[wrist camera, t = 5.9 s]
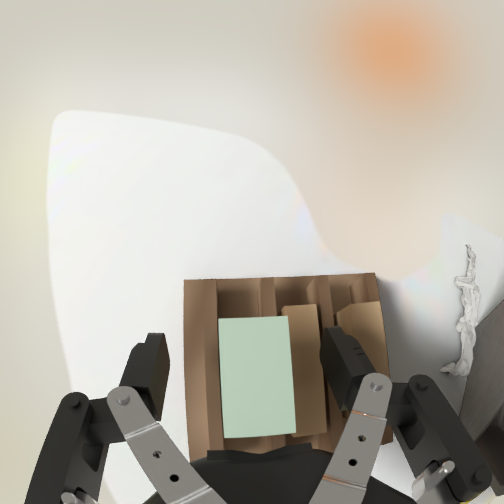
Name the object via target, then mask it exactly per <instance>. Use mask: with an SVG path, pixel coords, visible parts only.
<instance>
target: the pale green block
mask: <svg viewBox="0 0 504 504" xmlns="http://www.w3.org/2000/svg"><path fill="white" fill-rule="evenodd" d="M218 321H219V350H220V374H221V394H222V411H223V427H224V438H240V437H257V436H270V435H280V434H289V433H296V422H295V406H294V390H293V376H292V362H291V349H290V337H289V325H288V316H274V317H253V318H223V319H218Z"/></svg>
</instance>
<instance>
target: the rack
mask: <svg viewBox="0 0 504 504" xmlns="http://www.w3.org/2000/svg"><path fill="white" fill-rule="evenodd" d="M376 301H380V297H379V292H378V286H377V281H376V276H375V273H363V274H344V275H320V276H302V277H276V278H274V277H270V278H245V279H203V280H184V377H185V400H186V418H187V432H188V445H189V457H190V462H192V461H194V460H197V459H200V458H203V457H207V450H237V451H243V452H250V453H257V454H262V453H265V452H269V451H272V450H275V449H278V448H281V447H284V446H288V445H296V444H303V443H310V442H311V444H312V448H313V449H320V450H325V451H328V452H331V453H333V452H334V450H335V448H336V445H337V443H338V441H339V439H340V436H341V434H342V432H343V429H344V427H345V424H346V422H347V418H344V417H342V411H340V410H339V407H338V405H337V402H336V400H335V397H334V395H333V392H332V390H331V387H330V385H329V382H328V380H327V377H326V375H325V373H324V370H323V378H324V392H325V407H326V425H327V432H325V433H320V434H314V435H307V436H300V437H293V436H292V435H290V434H280V435H270V436H257V437H240V438H224V427H223V411H222V394H221V374H220V350H219V321H218V319H223V318H253V317H274V316H277V315H278V314H279V312H280V311H281V310H282V308H283V307H284V306H294V305H310V304H316V307H317V315H318V324H319V334H320V344H321V341H322V335H323V330H324V328H325V327H333V326H334V318H333V315H334V314H336V313H337V312H339V311H341V310H342V309H344V308H345V307H347V306H348V305H350V304H356V303H366V302H376ZM380 305H381V303H380ZM381 312H382V309H381ZM382 318H383V316H382ZM383 325H384V323H383ZM384 332H385V330H384ZM385 340H386V337H385ZM386 348H387V345H386ZM387 357H388V353H387ZM388 366H389V363H388ZM389 377H390V373H389ZM390 442H393V429H392V427H391V426H385V429H384V433H383V437H382V440H381V443H380V445H381V444H382V445H384V444H387V443H390Z"/></svg>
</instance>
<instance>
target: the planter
mask: <svg viewBox="0 0 504 504" xmlns="http://www.w3.org/2000/svg"><path fill="white" fill-rule="evenodd" d="M475 333H476V342H475V345H474V347H473V349H472V350H473V360H472V365H471V368H470V372H469V374H468V378H467V384H466V389H465V394H464V399H463V403H462V407H461V412H460V416H459V419H460V420H461V422H462V423H463V425H464V427H465V428H466V430H467V431H468V433H469V434H470V436H471V438H472V439H473V441H474V442H475V444H476V446H477V447H478V449H479V451H480V452H481V454H482V456H483V457H484V459H485V461H486V462H487V464H488V466H489V468H490V469H491V471H492V482H491V484H490V486H491V488H492V489H493V491H494V493H495V495H496V496H500V495H504V300H503V301H502V302H501V303H500V304H499V305H498V306H497V307H496V308H495V309H494V310H493V311H492V312H491V313H490V314H489V315H488V316H487V317H486V318H485V319H484V320H483V321H482V322H481V323H480V324H479V325H478V326H477V327H476V328H475Z"/></svg>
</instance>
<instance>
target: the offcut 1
mask: <svg viewBox="0 0 504 504" xmlns="http://www.w3.org/2000/svg"><path fill="white" fill-rule="evenodd" d="M277 316H288V325H289V337H290V349H291V362H292V376H293V390H294V406H295V422H296V433H289V434H290V435H292V436H293V437H300V436H307V435H314V434H320V433H325V432H327V425H326V407H325V392H324V378H323V368H322V365H321V363H320V357H319V352H320V346H321V344H320V334H319V324H318V315H317V307H316V304H310V305H294V306H284V307H283V308H282V310H281V311H280V312H279V314H278V315H277Z"/></svg>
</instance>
